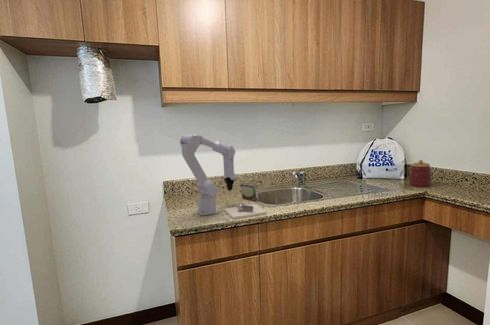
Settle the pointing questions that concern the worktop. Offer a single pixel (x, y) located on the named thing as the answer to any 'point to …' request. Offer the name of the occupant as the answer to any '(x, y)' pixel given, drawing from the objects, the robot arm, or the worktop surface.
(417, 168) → the canister
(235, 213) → the dial panel
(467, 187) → the worktop surface
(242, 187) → the food container
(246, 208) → the dial lever
